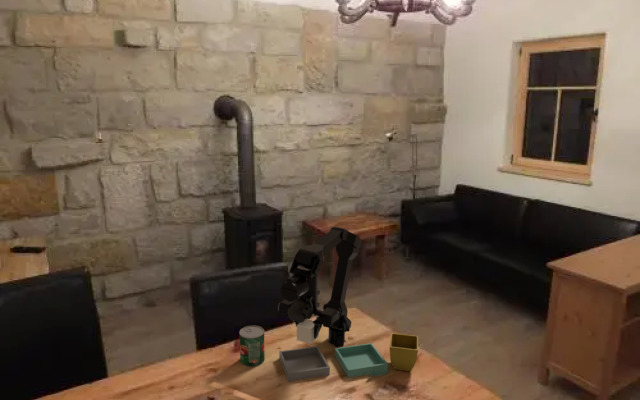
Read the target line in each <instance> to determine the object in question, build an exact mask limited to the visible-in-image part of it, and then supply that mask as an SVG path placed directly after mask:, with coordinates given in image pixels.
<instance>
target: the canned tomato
mask: <svg viewBox="0 0 640 400" xmlns="http://www.w3.org/2000/svg"><path fill="white" fill-rule="evenodd" d="M265 352H266V351H265V329H264V328H263V327H262V326H259V325H247V326H244V327H243V328H241V329H240V330H239V361H240V363H241V365H243V366H245V367H250V368H251V367H258V366H261V365H262V364H263V363H264V361H265V356H266V353H265Z"/></svg>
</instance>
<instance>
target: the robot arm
mask: <svg viewBox="0 0 640 400" xmlns="http://www.w3.org/2000/svg"><path fill="white" fill-rule="evenodd" d="M361 247H362V239H361V237H360V235H358V234H355V233H353V232H350V231H349V230H348V229H346V228H345V227H339V226H331V228H330V229H329V231H328V232H327V233H326V234H324V235H323V236H322V237H321V238H319V240H317V241H316V242H315V243H313V244H308V245H305V246H302V247H300V248H299V249H298V250H297V252H296V253H295V255H294V258H293V260H292V263H291V266H290V269H289V270H288V271H289V274H292V275H291V276H287V278H286V282H284V283H283V284H282V285H281V288H280V293H281V295H282V297H283V300H282V301H280V302H279V303H278V306H277V310H278V312H279V313H282V314H286V316H288V318H289V320H290V321H293V322H294V324H295V326H296V328H297V325H298V324H299V323H302V322H304V320H305V319H309V320H311V318H312V317H313V316H315V319H314V320H312V321H313V324H314V339H316V338H317V336H318V334H319V335H320V332H321V329H322V328H323V327H324V328H327V329H328V337H327V339H328V343H329V344H330V345H332V346H334V347H335V348H341V347H345V343H347V341H346V333H348V332H350V331H351V327H352V320H350V318H349V317H348V313H349V312H348V307H347V305H346V302H345V301H346V296H347V290H348V286H349V280H350V275H351V269H352V263H353V260H354V259H355V258H356V257H357V256H358V255H359V252H360V250H361V249H360V248H361ZM334 248H335V251H336V254H337V263H336V268H335V274H334V279H333V285H332V290H331V295H330V299H329V300H328V302H327V303H324V304H323V306H322V307H323V308H322V309H318V308H319V307H320V304H321V303H320V302H318V300H319V299H318V298H319V297H318V296H319V295H320V290H319V287H318V286H319V273H321V272H322V269H321V266H322V265H323V263H325V262H324V261H325V260H324V259H325V257H326V256H327V254H328V253H330V252H331V251H332V250H333V249H334ZM317 339H318V338H317ZM317 339H316V340H317Z"/></svg>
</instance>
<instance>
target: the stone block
mask: <svg viewBox="0 0 640 400" xmlns="http://www.w3.org/2000/svg"><path fill="white" fill-rule="evenodd" d="M313 321H314V320H312V319H305V320H304V322H302V323H299V324H298V325H297V327H296V341H298V342H303V343H306V344H310V345H312V344H313V343H314V342H315V341H316V340H317V339H318V338H319V337H320V333H319V334H318V336H317V338H316V339H314V324H313Z"/></svg>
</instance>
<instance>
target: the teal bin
mask: <svg viewBox="0 0 640 400" xmlns="http://www.w3.org/2000/svg"><path fill="white" fill-rule="evenodd" d="M334 356H335V358H336V360H337V361H338V363H339V365H340V366H341V368H342V369H343V372H344V373H345V375H346V376H347V378H355V377H360V376H366V375H368V378H371V377H372V378H373V377H376V376H382V375H387V374H388V371H389V369H388V368H389V363H388V362H387V361H386V359H385V358H384V357H383V356H382V354H381V353H380V352H379V351H378V349H377V348H376V346H375V345H374V344H373V343H372V342H369V343H364V344H363V343H362V344H355V345H348V346H340V347H335V348H334Z"/></svg>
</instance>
